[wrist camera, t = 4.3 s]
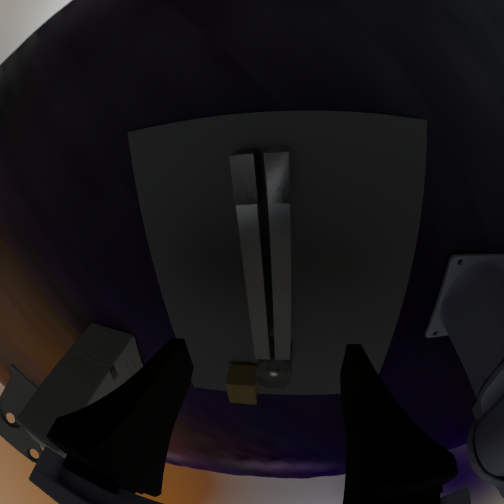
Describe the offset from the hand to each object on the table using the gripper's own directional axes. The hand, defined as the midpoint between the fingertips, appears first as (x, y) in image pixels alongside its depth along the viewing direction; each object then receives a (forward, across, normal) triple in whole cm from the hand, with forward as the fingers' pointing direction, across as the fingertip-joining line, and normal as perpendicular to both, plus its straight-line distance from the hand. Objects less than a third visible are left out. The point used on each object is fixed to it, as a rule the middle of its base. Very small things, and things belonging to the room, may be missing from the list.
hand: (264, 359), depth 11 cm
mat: (+8, 0, +2) cm, 8 cm away
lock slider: (+7, +3, +10) cm, 13 cm away
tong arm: (+7, +1, -1) cm, 7 cm away
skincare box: (+8, +17, +11) cm, 22 cm away
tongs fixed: (+7, 0, 0) cm, 7 cm away
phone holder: (+8, +57, +37) cm, 69 cm away
